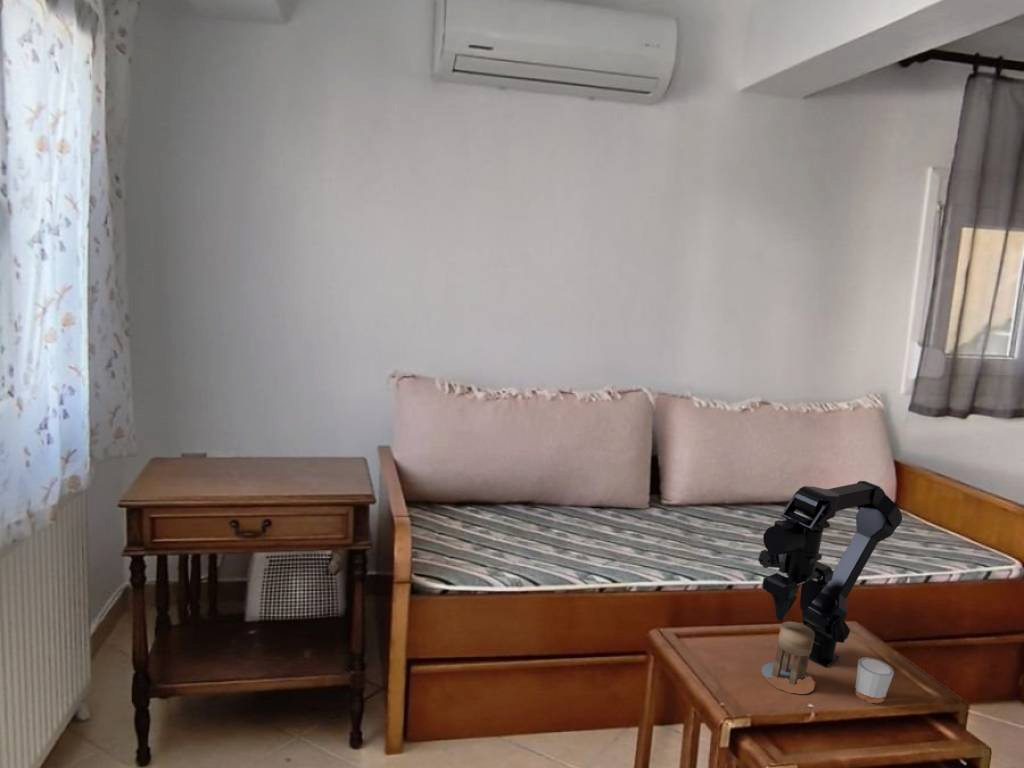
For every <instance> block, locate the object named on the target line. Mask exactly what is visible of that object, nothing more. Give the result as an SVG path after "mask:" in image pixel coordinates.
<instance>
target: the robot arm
mask: <svg viewBox="0 0 1024 768" xmlns="http://www.w3.org/2000/svg"><path fill="white" fill-rule="evenodd" d="M851 508H857V510H858V511H857V513H856V515H855V524H856V531H855V533H854V534H853V536H852V539H851V540H850V542H849V544H848V546H847V547H846V548H845V551H844V553H843V554H842V556H841V558H840V560H839V561H838V563H837V565H836V566H835V567H834V568H835V569H834V570H833V569H832V568H831V566H829V565H827V564H824V563H822V562H821V560H822V558H823V554H822V553H819V552H820V547H821V542H822V539H823V538H822V537H823V534H824V533H823V532H824V529H829V528H830V527H831V524H830V523H829V520H830V519H833V518H835V516H836V513H837V512H839V511H843V510H847V509H851ZM796 512H797V513H796ZM798 513H799V514H798ZM800 514H801V515H800ZM802 515H804V516H802ZM780 517H781V518H783V519H785V520H783V519H782V520H779V519H778V520H775V521H774V523H773V524H774V525H772V526H770V527H768V528H766V530H765V532H764V533H763V536H762V537H763V539H762V541H763V545H764V547H765V548H766V549H763V550H760V553H759V554H758V555H759V556H758V558H757V561H758V562H759V564H760V565H761V566H762V567H763V568H764V569H768V568H772V569H773V568H776V569H778V572H781V573H782V574H786V576H787V577H786V576H784V575H781V574H780V573H778V572H776V573H773V574H770V575H768V576H765V577H764V578H763V580H762V584H761V588H762V589H763V590H765V591H766V593H769V594H770V595H771V596H772V598H773V603H774V609H775V616H776V620H777V621H780V622H783V621H784V619H785V618H786V617H787V615H788V613H789V612H790V610H791V608H792V607H793V605H794V604H795V602H796V600H797V599H798V596H797V594H798V592H799V589H800V597H799V609H800V610H801V615H802V616H801V617H802V624H803V625H806V626H808V627H809V628H811V629H812V630H813V631H814V633H815V637H814V642H813V647H812V651H811V654H810V656H809V660H811V661H813V662H816V663H818V664H819V665H821V666H823V667H825V668H827V667H828V666H830V665H832V664H833V663H835V662H837V661H839V660H840V655H838V654H835V652H836V648H837V647H836V646H837V644H838V643H841V644H843V643H845V640H847V639H848V637H849V635H850V632H851V629H850V628H849V625H848V624H847V623H846V621H845V619H846V617H847V615H848V603H847V602H848V601H847V599H848V596H849V595H850V593H851V591H852V589H853V587H854V586H855V584H856V582H857V581H858V579H859V577H860V575H861V573H862V572H863V570H864V569H865V567H866V565H867V563H868V561H869V559H870V557H871V556H872V553H874V551H875V549H876V547H877V546H878V544H879V543H880V542H882V541H884V540H886V539H888V538H889V537H891V536H892V535H893V534H894V532H895V531H896V529H897V528H899V527H900V525H901V523H902V521H903V514H902V512H901V509H900V508H899V507H898V505H897V504H896V503H895V502H894V501H893V500H892V499H891V498H890V497H889V496H888V495H887V494H886V493H885V491H884V489H883V488H881V486H880V485H876V484H874V483H871V482H868V481H867V480H859V481H858V482H855V483H851V484H846V485H842V486H841V485H840V486H836V487H832V488H831V487H830V488H822V487H817V486H807V485H806V486H805V485H804V486H801V487H800V488H799V489H797V491H796V492H795V493H794V494H793V496H792V497H791V498H790V500H789V501H788V503H787V505H786V506H785V508H784V509H783V510H782V512H781V514H780ZM819 561H820V562H819ZM799 586H800V588H799Z"/></svg>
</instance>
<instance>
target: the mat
mask: <svg viewBox="0 0 1024 768" xmlns="http://www.w3.org/2000/svg"><path fill="white" fill-rule="evenodd" d="M774 662H775V661H772V662H767V663H765V664H764V665H762V667H761V671H760V673H761V672H762V674H763V676H766V677H767V678H768V677H774V678H775V676H773V675H772V672H773V667H774ZM792 665H793V664H789V669H788V670H787V671H786V672H785V671H783V670H781V673H780V676H779V677H780V678H781V677H782V678H783V679H785V678H787V679H788V680H789V679H790V674H791V669H792ZM762 674H761V675H762ZM805 676H806V677H808V676H809V677H810V676H811V674H809V672H807V671H806V675H805ZM779 677H776V678H779ZM806 677H805V678H806ZM782 678H781V679H782ZM798 679H799V678H798Z"/></svg>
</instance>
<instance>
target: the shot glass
mask: <svg viewBox="0 0 1024 768" xmlns="http://www.w3.org/2000/svg"><path fill="white" fill-rule="evenodd" d="M857 661H858V662H857V670H856V681H855V688H856V690H857V691H858V692H860V693H862V694H864V695H867V696H870V697H873V698H874V697H875V698H882V697H885V698H886V696H887V694H888V690H889V688H890V685H891V682H892V680H893V677H894V674H895V673H894V669H893V668H892V667H891V665H888V664H887V663H886V662H885V661H882V660H880V659H876V658H873V657H867V656H866V657H861V658H859V659H858V660H857ZM855 688H854V689H855Z"/></svg>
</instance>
